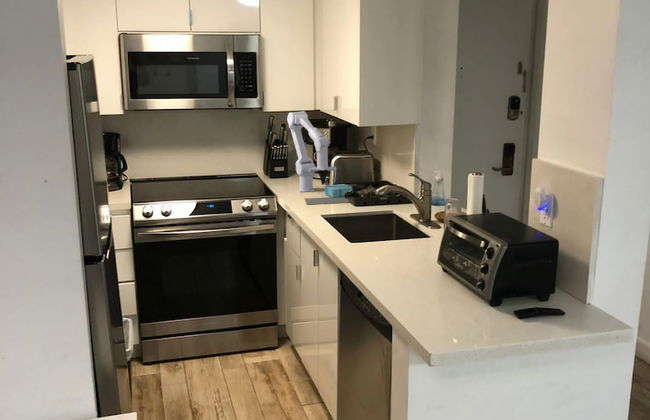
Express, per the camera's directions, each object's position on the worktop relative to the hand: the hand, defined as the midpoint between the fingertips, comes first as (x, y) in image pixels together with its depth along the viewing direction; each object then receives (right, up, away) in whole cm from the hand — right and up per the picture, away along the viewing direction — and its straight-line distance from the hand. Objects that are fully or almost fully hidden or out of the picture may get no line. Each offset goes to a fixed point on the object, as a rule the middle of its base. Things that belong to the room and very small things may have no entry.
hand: (323, 184), depth 360 cm
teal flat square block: (+3, -4, -3) cm, 6 cm away
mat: (+2, -9, -13) cm, 16 cm away
